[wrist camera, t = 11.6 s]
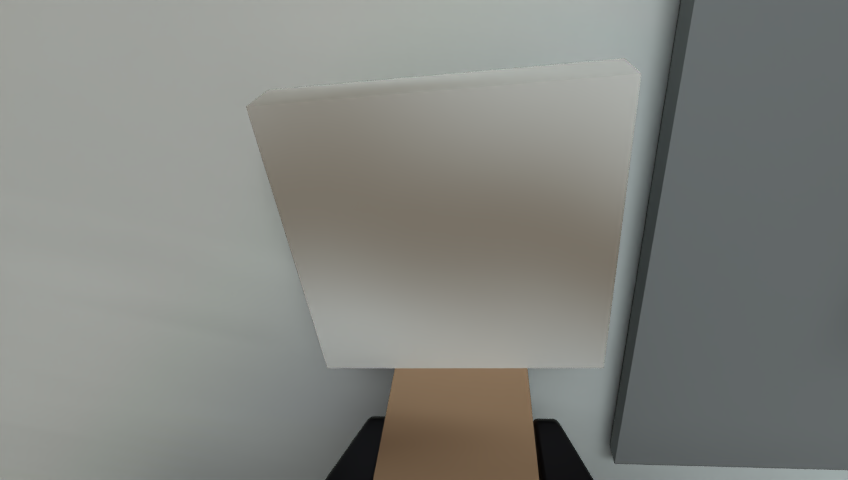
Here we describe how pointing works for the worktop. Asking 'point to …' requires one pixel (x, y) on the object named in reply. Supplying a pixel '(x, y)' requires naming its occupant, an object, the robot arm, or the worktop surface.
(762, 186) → the slate mat
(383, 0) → the worktop surface
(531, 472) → the grey-capped brown block
